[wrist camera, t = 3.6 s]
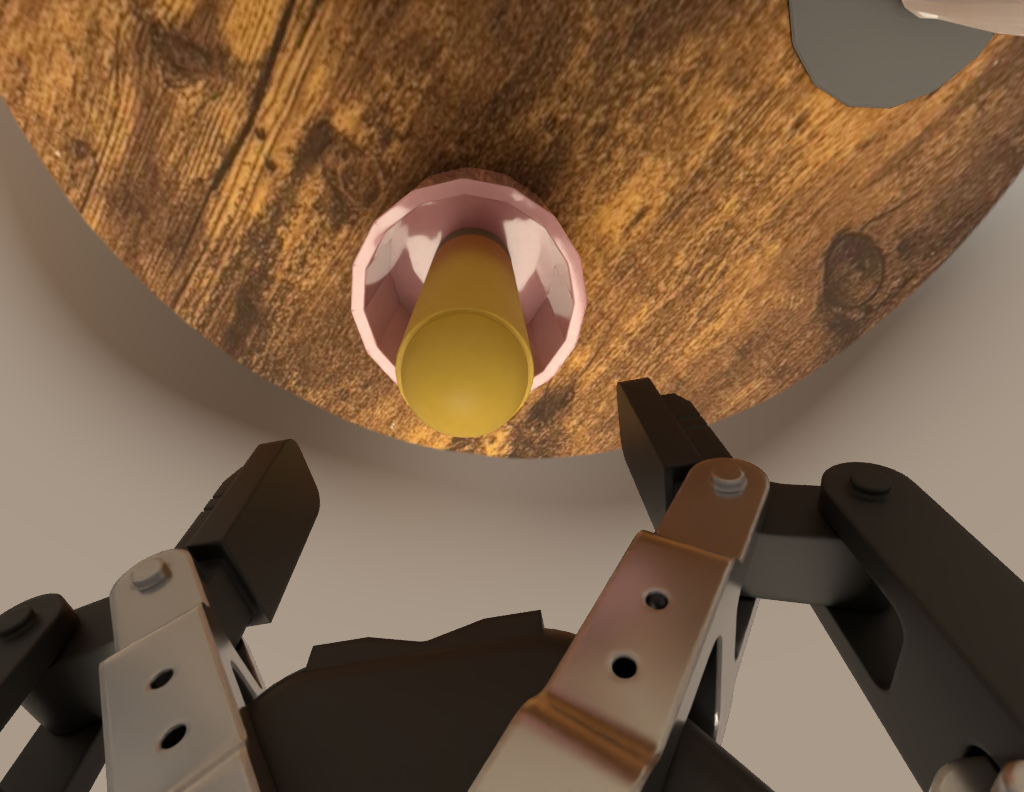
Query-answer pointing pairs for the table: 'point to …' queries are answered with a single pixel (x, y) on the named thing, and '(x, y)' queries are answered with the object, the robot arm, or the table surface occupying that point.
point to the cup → (894, 44)
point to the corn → (466, 340)
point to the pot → (443, 210)
